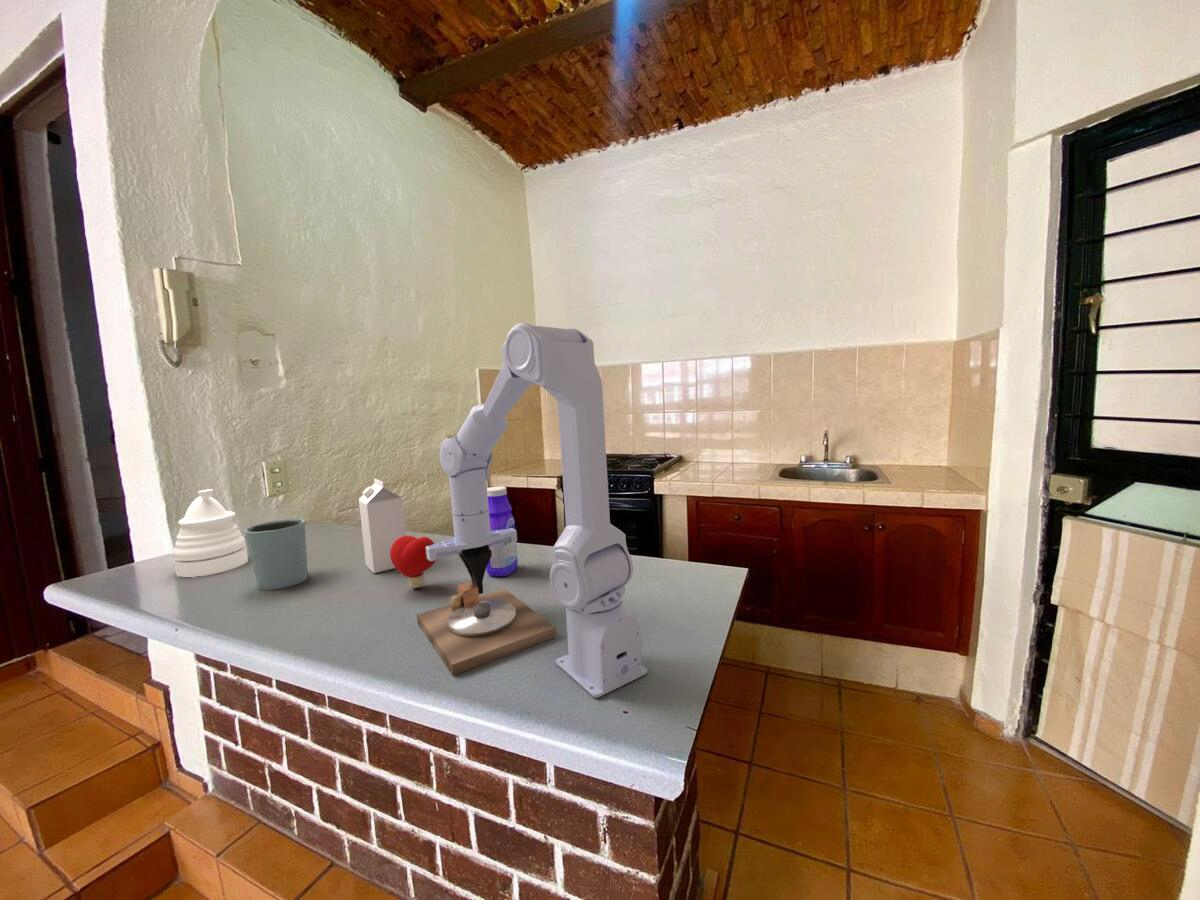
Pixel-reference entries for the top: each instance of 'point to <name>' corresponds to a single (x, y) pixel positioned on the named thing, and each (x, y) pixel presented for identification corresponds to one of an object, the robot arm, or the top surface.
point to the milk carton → (380, 525)
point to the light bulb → (411, 558)
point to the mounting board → (484, 649)
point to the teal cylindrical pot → (278, 553)
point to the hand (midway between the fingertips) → (477, 592)
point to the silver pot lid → (472, 626)
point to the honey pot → (208, 539)
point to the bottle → (501, 519)
